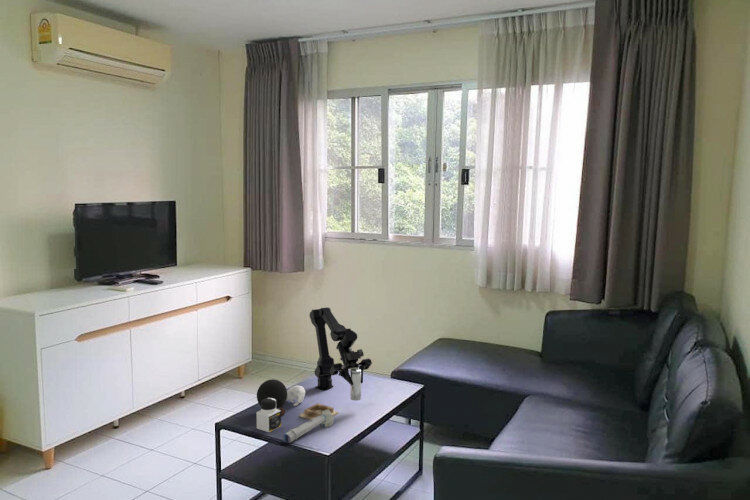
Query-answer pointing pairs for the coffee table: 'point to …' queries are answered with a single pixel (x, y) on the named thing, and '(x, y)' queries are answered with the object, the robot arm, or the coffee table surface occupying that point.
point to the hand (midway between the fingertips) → (357, 383)
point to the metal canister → (355, 384)
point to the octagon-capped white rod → (309, 426)
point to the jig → (317, 411)
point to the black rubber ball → (273, 393)
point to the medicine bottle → (268, 416)
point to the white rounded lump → (296, 394)
